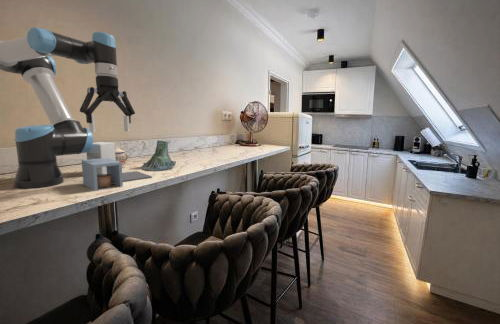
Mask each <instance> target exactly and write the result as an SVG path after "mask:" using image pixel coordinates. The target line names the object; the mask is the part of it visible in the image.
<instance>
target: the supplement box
mask: <svg viewBox="0 0 500 324" xmlns="http://www.w3.org/2000/svg"><path fill="white" fill-rule="evenodd" d="M115 145H116V143H115V142H106V141H105V142H104V141H98V142H93V145H92V148H91V149H90V150H89V151H88V152H86V160H89V159H102V158H110V159H113V160H116V157H115ZM96 169H97V174H107V169H106V166H105V167H96Z"/></svg>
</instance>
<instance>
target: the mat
mask: <svg viewBox="0 0 500 324" xmlns="http://www.w3.org/2000/svg"><path fill="white" fill-rule="evenodd" d="M152 177H153V176H152V175H149V174H146V173H143V172H140V171H137V170H134V171H127V172H126V171H124V172H122V181H123V183H126V182H133V181H139V180H144V179H152Z"/></svg>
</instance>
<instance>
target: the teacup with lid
mask: <svg viewBox="0 0 500 324" xmlns="http://www.w3.org/2000/svg"><path fill="white" fill-rule="evenodd" d="M115 157H116V161H119V162H122V169H123V168H125V167H126V162H127V161H128V160H129V155H128V153H126V151H125V150H124V149H121V148H119V147H118V146H117V145H116V146H115Z"/></svg>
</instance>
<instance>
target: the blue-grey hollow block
mask: <svg viewBox="0 0 500 324" xmlns="http://www.w3.org/2000/svg"><path fill="white" fill-rule="evenodd" d="M105 166H106V169H107V174H111V175H112V185H113V184H114V185H116V186H117V187H119V188H121V187H124V185H123V183H124V182H123V181H122V173H123V168H122V162H119V161H116V160H113V159H110V158H102V159H89V160H87V159H81V168H82V181H83V182H82V183H83V185H84V186H86V187H88V188H89V189H90V190H92V191H94V192H97V191H99V187H98V184H97V169H96V167H105Z"/></svg>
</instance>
